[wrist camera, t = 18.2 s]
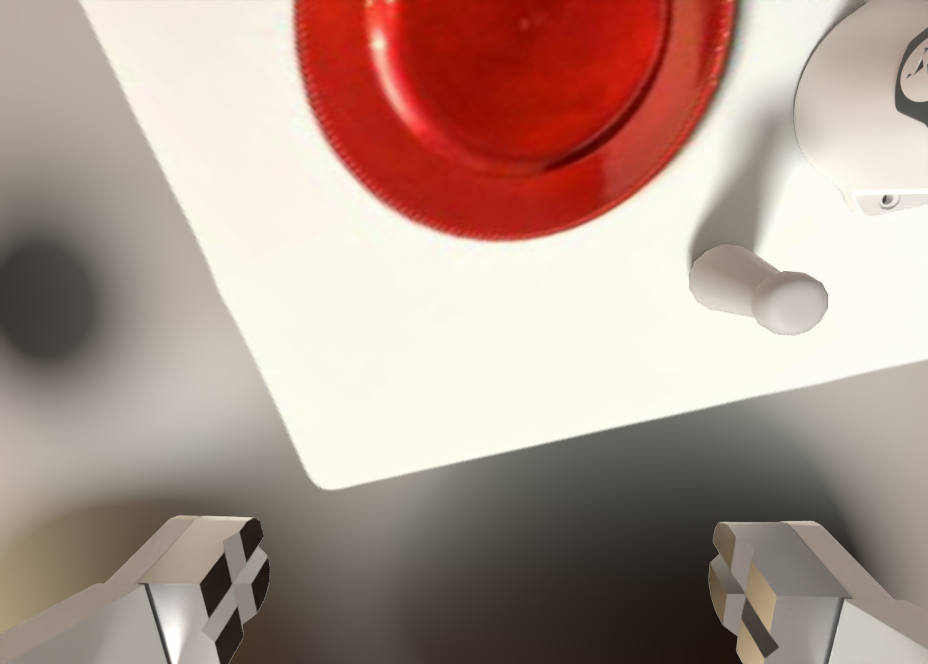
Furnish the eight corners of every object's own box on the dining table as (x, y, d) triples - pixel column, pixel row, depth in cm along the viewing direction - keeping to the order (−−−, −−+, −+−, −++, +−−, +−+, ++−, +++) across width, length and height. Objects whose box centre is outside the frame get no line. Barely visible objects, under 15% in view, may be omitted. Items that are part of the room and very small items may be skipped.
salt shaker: (668, 265, 43) (738, 296, 31) (726, 228, 42) (824, 244, 29) (699, 315, 44) (778, 365, 32) (757, 281, 43) (862, 319, 31)
